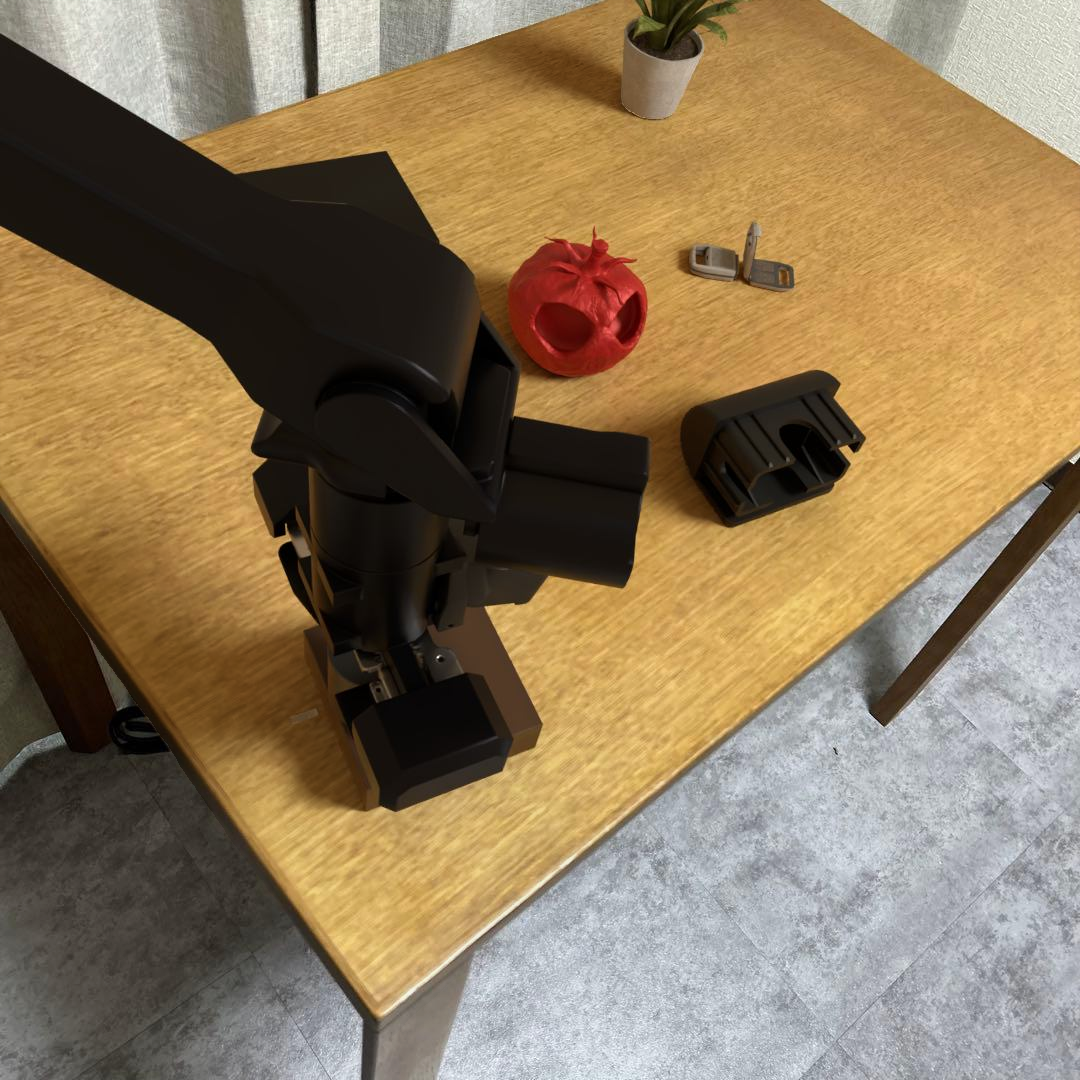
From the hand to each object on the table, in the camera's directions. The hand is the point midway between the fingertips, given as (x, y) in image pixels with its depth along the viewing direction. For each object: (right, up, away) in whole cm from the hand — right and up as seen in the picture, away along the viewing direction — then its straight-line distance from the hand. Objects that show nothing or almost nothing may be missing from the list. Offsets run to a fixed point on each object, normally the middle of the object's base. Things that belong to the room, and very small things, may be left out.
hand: (370, 690), depth 59 cm
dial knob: (0, 0, 0) cm, 0 cm away
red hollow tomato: (+11, +22, +22) cm, 34 cm away
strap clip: (+25, +29, +30) cm, 49 cm away
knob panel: (+1, -1, +3) cm, 4 cm away
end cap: (+24, +13, +18) cm, 32 cm away
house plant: (+19, +46, +41) cm, 64 cm away
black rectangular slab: (-9, +31, +24) cm, 40 cm away
